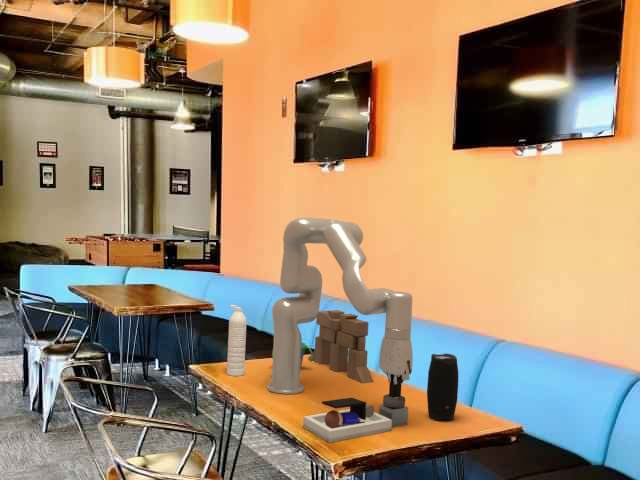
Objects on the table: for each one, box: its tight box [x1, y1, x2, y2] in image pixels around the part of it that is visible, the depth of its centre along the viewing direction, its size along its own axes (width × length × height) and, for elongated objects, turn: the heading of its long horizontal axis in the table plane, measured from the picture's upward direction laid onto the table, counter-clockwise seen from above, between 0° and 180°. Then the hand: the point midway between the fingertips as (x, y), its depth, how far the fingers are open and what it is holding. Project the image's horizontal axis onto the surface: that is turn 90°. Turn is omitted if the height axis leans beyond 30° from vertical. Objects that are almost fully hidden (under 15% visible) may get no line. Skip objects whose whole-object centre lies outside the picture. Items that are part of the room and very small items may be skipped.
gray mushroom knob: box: [382, 393, 406, 408], centre depth 176 cm, size 6×6×7 cm
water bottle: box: [226, 304, 247, 377], centre depth 223 cm, size 9×6×25 cm
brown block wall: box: [307, 309, 374, 384], centre depth 236 cm, size 40×9×23 cm, turn 33°
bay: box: [302, 408, 393, 444], centre depth 168 cm, size 13×21×3 cm, turn 123°
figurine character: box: [321, 397, 375, 429], centre depth 169 cm, size 7×8×15 cm
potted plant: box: [271, 342, 313, 370], centre depth 233 cm, size 16×10×10 cm
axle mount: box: [378, 403, 409, 428], centre depth 176 cm, size 6×6×5 cm
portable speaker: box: [426, 353, 459, 422], centre depth 182 cm, size 8×9×19 cm
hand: (394, 396), depth 175 cm, fingers closed
